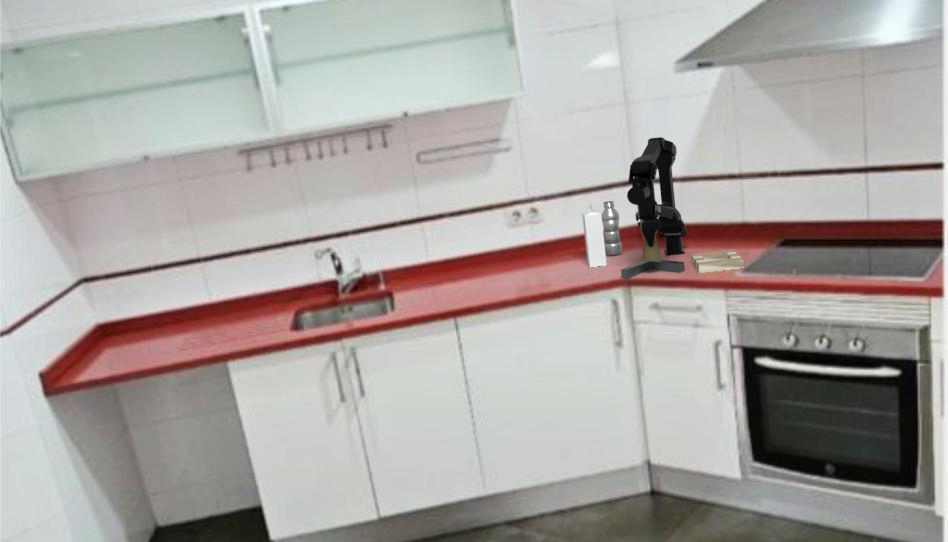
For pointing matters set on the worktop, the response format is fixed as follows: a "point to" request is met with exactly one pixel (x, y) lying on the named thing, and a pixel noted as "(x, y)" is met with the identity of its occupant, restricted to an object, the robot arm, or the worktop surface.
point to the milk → (594, 238)
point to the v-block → (652, 267)
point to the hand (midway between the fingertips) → (650, 245)
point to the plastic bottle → (611, 229)
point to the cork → (650, 250)
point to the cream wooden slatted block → (717, 261)
